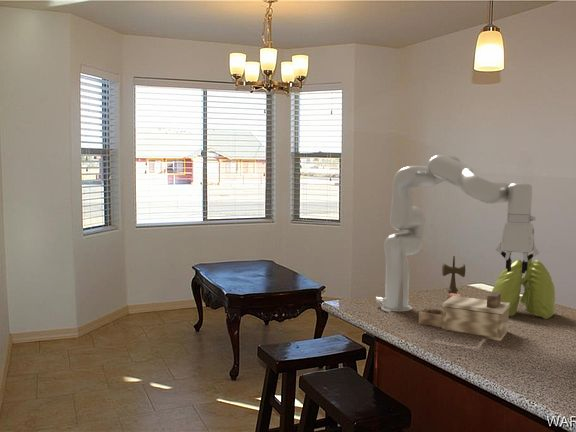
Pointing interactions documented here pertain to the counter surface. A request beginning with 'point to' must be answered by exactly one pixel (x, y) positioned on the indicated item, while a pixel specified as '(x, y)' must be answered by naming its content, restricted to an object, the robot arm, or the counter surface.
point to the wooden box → (467, 321)
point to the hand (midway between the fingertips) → (516, 271)
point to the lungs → (527, 289)
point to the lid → (479, 303)
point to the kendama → (453, 274)
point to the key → (453, 295)
